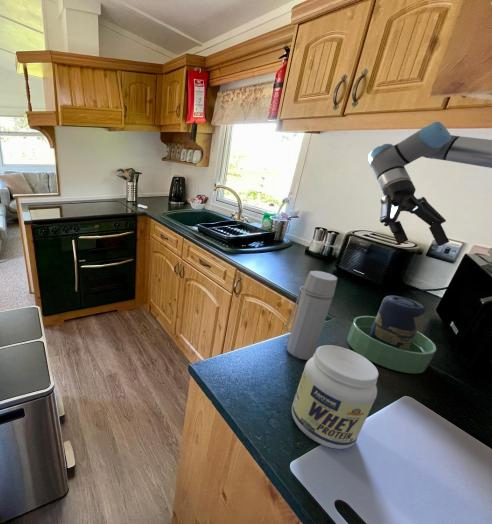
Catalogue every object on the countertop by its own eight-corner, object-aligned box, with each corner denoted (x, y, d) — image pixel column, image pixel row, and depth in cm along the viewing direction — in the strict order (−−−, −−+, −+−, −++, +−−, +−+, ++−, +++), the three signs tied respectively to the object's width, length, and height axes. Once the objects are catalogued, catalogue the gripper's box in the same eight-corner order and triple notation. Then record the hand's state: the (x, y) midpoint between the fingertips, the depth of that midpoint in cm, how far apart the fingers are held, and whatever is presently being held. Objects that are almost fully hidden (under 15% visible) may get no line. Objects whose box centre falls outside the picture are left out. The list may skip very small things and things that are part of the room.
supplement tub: (291, 436, 59) (314, 370, 53) (288, 394, 69) (307, 335, 63) (362, 463, 54) (395, 394, 48) (348, 414, 65) (374, 352, 59)
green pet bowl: (423, 352, 89) (433, 333, 87) (427, 385, 76) (439, 364, 73) (350, 327, 101) (357, 309, 98) (342, 351, 87) (349, 332, 85)
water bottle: (318, 356, 84) (345, 278, 76) (304, 365, 80) (330, 283, 71) (289, 339, 91) (310, 266, 83) (274, 346, 87) (295, 270, 78)
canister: (392, 364, 82) (418, 309, 76) (358, 344, 90) (378, 293, 84) (411, 357, 86) (436, 303, 80) (376, 339, 94) (396, 289, 88)
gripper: (419, 195, 99) (446, 250, 91) (352, 191, 97) (374, 247, 88) (441, 180, 93) (474, 238, 84) (371, 175, 90) (397, 235, 81)
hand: (423, 243), depth 86 cm, fingers open, 13 cm apart
